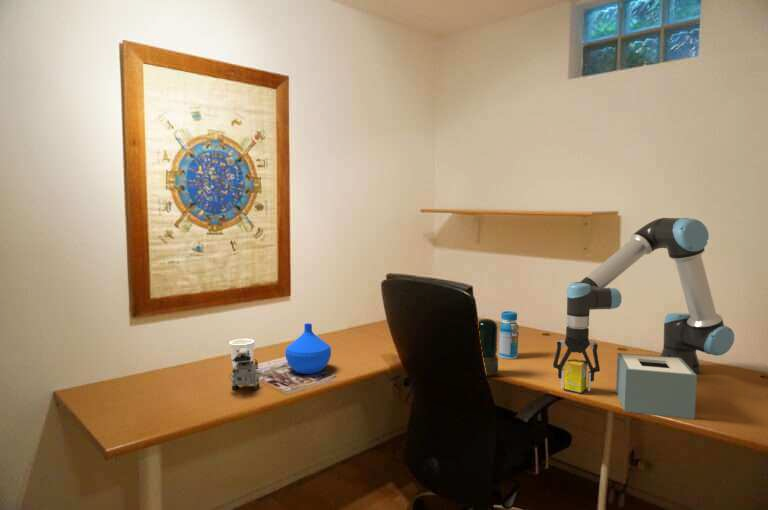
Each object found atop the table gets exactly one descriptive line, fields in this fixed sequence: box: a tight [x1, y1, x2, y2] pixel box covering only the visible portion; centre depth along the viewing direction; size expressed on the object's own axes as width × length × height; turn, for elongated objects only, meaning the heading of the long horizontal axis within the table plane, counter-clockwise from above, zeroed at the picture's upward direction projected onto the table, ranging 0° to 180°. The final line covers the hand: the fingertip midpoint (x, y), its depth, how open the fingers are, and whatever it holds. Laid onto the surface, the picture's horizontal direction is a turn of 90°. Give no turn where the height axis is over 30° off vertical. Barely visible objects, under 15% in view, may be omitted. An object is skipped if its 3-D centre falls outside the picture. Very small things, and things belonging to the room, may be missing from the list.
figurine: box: [229, 348, 261, 391], centre depth 183 cm, size 9×12×15 cm
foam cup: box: [228, 338, 255, 368], centre depth 202 cm, size 10×9×13 cm
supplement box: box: [564, 357, 588, 395], centre depth 184 cm, size 6×6×11 cm
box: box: [615, 352, 698, 420], centre depth 171 cm, size 20×20×14 cm
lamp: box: [477, 318, 499, 377], centre depth 203 cm, size 10×10×22 cm
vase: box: [284, 322, 332, 375], centre depth 206 cm, size 18×18×19 cm
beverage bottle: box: [498, 310, 520, 360], centre depth 226 cm, size 8×8×20 cm
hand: (575, 388), depth 184 cm, fingers open, 8 cm apart
